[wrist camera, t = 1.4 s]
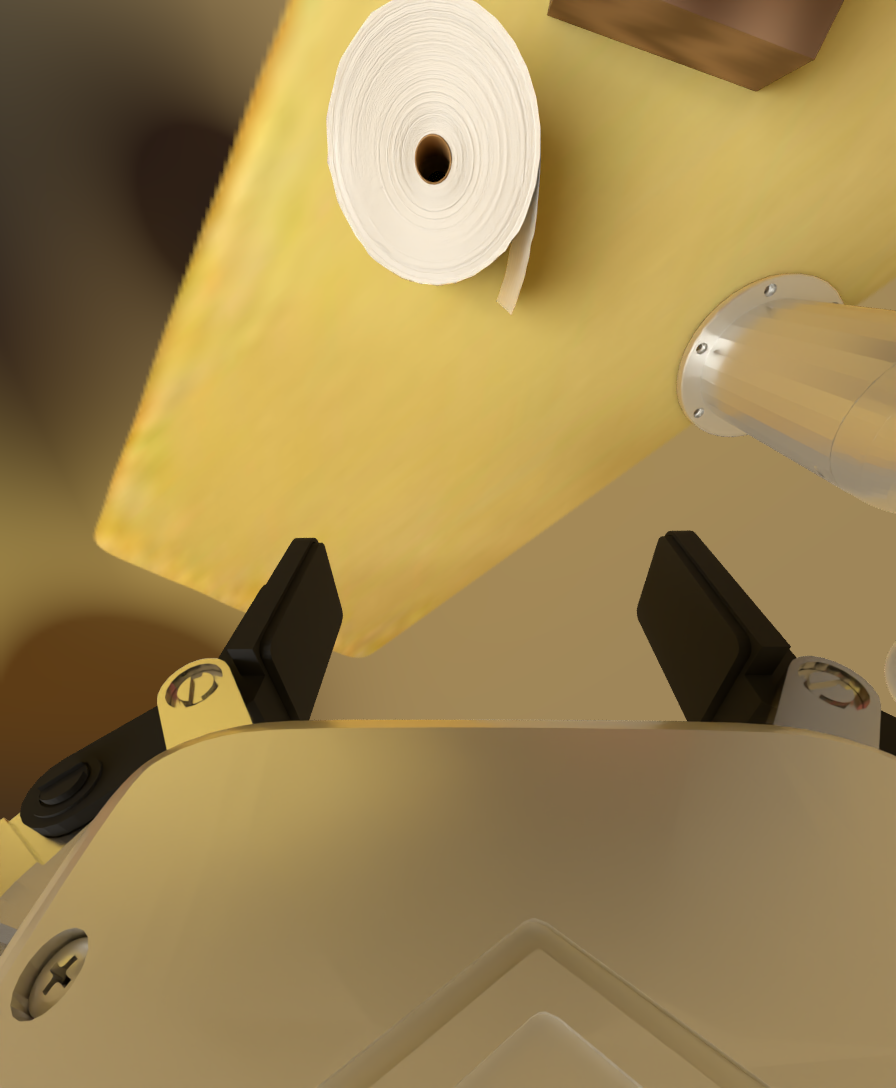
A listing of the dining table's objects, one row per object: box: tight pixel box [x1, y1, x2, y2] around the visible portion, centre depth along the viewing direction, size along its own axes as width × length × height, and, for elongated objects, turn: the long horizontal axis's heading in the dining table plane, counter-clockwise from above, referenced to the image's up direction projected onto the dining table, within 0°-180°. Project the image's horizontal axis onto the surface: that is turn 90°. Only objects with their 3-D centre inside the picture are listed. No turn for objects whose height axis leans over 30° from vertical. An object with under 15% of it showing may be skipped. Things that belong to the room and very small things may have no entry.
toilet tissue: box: [327, 0, 541, 315], centre depth 24 cm, size 11×12×10 cm
